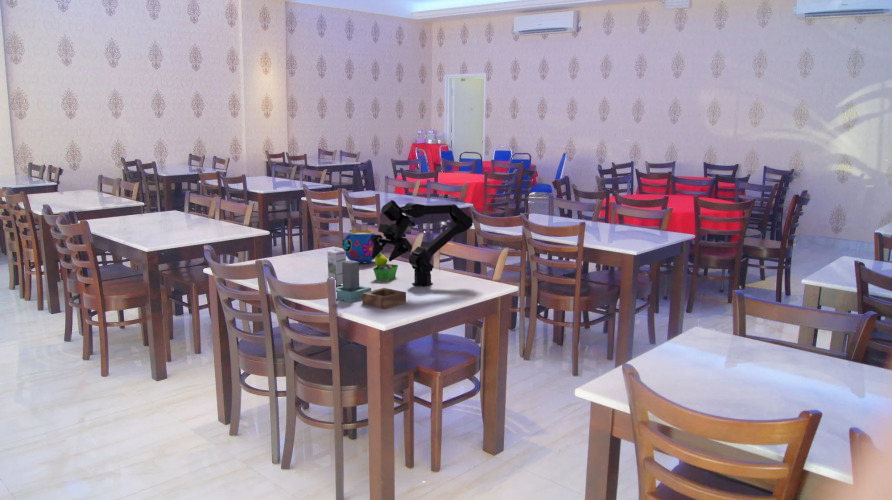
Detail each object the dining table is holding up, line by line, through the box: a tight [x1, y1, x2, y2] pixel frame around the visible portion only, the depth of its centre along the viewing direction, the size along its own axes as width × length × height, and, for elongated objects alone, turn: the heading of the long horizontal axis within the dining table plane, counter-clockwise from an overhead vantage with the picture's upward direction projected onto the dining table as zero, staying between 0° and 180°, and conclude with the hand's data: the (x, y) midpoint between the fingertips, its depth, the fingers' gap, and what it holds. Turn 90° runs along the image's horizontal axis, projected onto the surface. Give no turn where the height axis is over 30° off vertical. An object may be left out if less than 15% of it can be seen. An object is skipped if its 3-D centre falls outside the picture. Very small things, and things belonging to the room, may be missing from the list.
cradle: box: [335, 284, 372, 303], centre depth 267 cm, size 13×13×3 cm
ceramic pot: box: [341, 229, 376, 264], centre depth 333 cm, size 18×18×15 cm
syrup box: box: [326, 248, 347, 286], centre depth 287 cm, size 6×6×14 cm
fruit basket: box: [372, 252, 399, 282], centre depth 299 cm, size 11×9×11 cm
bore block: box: [362, 287, 407, 310], centre depth 257 cm, size 12×12×4 cm
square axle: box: [342, 260, 360, 292], centre depth 266 cm, size 4×4×13 cm
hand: (380, 259), depth 271 cm, fingers open, 9 cm apart
